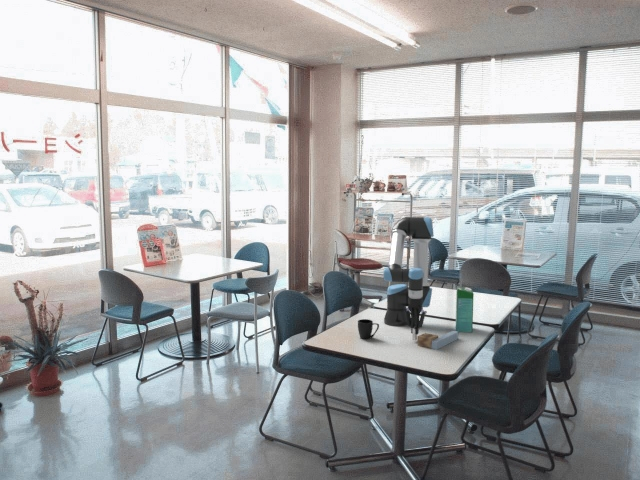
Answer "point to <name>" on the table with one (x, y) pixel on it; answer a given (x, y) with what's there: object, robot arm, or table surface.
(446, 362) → the table surface
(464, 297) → the milk carton
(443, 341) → the pale blue bar
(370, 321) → the mug
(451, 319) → the table surface
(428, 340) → the block
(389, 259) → the robot arm
